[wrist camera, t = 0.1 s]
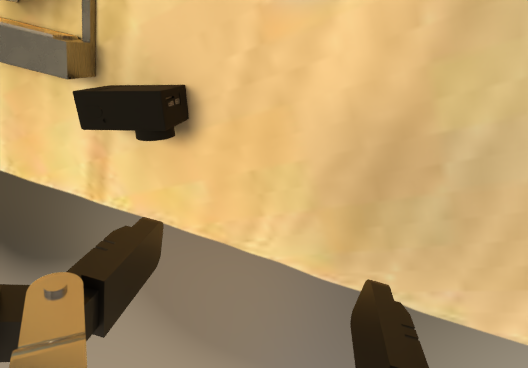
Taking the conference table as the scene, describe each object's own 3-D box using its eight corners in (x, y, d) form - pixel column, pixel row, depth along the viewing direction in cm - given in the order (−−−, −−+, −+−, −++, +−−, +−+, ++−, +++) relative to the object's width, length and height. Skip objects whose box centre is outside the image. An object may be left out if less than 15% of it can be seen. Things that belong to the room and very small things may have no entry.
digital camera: (117, 127, 43) (82, 140, 37) (109, 85, 41) (70, 91, 35) (190, 128, 42) (167, 141, 35) (185, 84, 40) (160, 91, 33)
